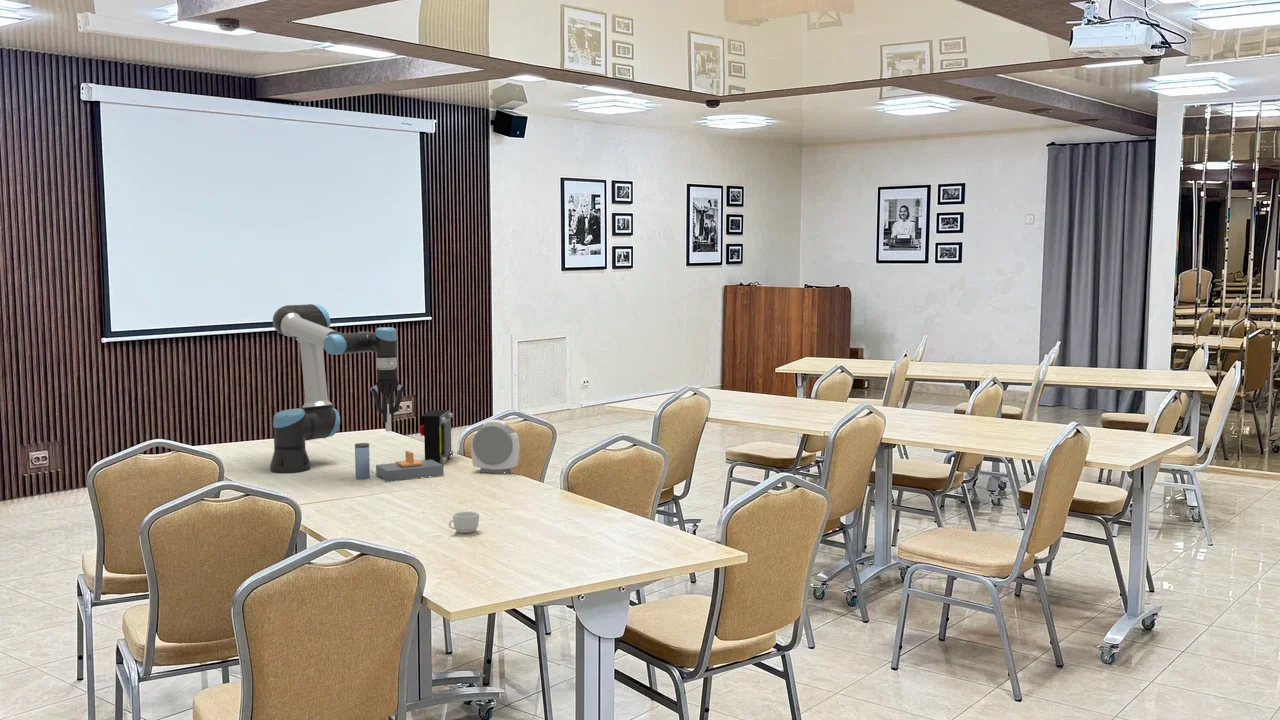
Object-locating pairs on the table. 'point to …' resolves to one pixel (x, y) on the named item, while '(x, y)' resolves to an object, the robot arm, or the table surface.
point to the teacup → (465, 521)
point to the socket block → (409, 470)
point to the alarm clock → (495, 447)
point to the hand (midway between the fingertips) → (388, 430)
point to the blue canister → (362, 461)
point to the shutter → (409, 460)
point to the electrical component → (437, 435)
